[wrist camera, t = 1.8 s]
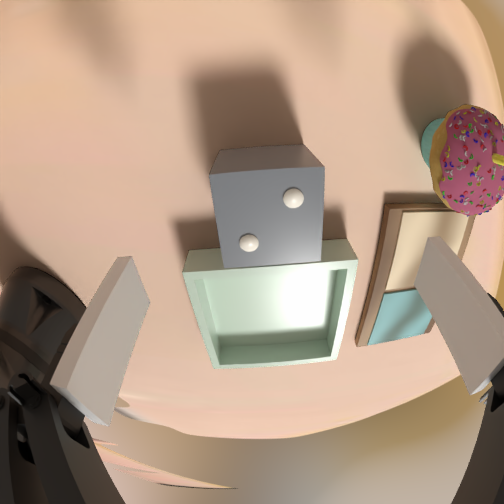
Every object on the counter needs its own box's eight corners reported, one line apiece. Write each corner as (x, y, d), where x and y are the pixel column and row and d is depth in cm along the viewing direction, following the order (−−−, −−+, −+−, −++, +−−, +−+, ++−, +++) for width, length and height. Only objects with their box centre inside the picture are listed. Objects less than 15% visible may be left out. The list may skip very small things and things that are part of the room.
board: (354, 340, 31) (357, 348, 30) (384, 203, 21) (390, 210, 20) (427, 326, 30) (430, 333, 29) (471, 203, 20) (478, 209, 19)
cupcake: (390, 110, 17) (510, 155, 7) (463, 89, 14) (573, 124, 4) (414, 204, 21) (497, 293, 11) (478, 174, 19) (563, 240, 9)
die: (229, 222, 22) (223, 269, 17) (220, 150, 19) (208, 175, 14) (304, 217, 22) (320, 262, 17) (303, 144, 18) (325, 167, 13)
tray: (215, 347, 31) (213, 368, 28) (189, 250, 23) (182, 272, 21) (331, 338, 30) (336, 359, 28) (347, 238, 23) (358, 259, 20)
